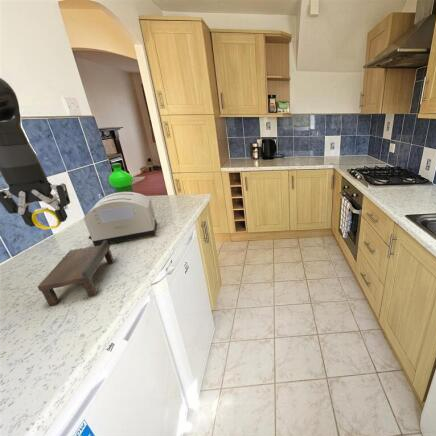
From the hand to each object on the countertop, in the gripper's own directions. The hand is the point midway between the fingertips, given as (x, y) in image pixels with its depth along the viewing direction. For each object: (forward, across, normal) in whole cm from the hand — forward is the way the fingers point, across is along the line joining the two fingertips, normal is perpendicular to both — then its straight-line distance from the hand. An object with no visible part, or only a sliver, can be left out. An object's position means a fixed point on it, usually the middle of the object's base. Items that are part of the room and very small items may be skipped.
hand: (48, 223), depth 68 cm
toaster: (+20, -8, -35) cm, 41 cm away
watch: (+2, 0, 0) cm, 2 cm away
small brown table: (+20, -2, +1) cm, 20 cm away
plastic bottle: (+20, -2, -67) cm, 70 cm away
